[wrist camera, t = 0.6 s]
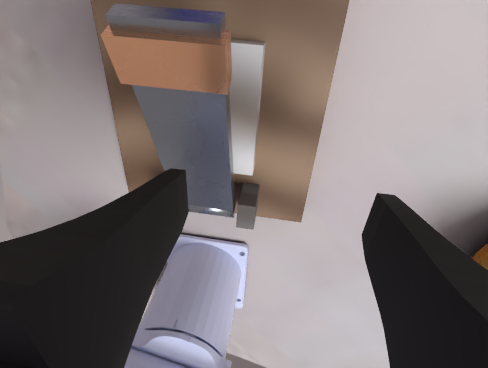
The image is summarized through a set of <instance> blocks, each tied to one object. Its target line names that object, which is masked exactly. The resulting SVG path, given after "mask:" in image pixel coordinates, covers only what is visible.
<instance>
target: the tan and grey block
mask: <svg viewBox="0 0 488 368" xmlns="http://www.w3.org/2000/svg"><path fill="white" fill-rule="evenodd" d="M105 16H106V18H107V21H108V23H109V25H108V26H107V28H106V29H105V30H104V31H103V32H102V34H101V37H102V40H103V42H104V44H105V47H106V49H107V52H108V54H109V57H110V59H111V61H112V64H113V66H114V69H115V71H116V74H117V76H118V78H119V81H120V83H121V84H129V85H132V87H133V90H134V92H135V95H136V98H137V100H138V103H139V106H140V108H141V111H142V113H143V116H144V119H145V121H146V124H147V127H148V129H149V132H150V135H151V137H152V140H153V143H154V145H155V148H156V150H157V153H158V156H159V158H160V161H161V164H162V166H163V169H164V171H166V170H168V169H170V168H173V169H182V170H186V181H187V195H188V209H189V212H196V213H203V214H210V215H217V216H224V217H232V218H233V217H234V214H235V208H236V201H235V189H234V170H233V151H232V133H231V114H230V95H229V88H230V85H231V82H232V59H231V35H230V30H226V21H225V12H218V11H205V10H192V9H179V8H166V7H153V6H140V5H127V4H114V5H113V6H112V7H111V8H110V10H109V11H108V12H107V13H106V14H105Z"/></svg>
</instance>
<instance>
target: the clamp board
mask: <svg viewBox="0 0 488 368" xmlns="http://www.w3.org/2000/svg"><path fill="white" fill-rule="evenodd" d="M91 4H92V9H93V14H94V19H95V24H96V29H97V34H98V39H99V44H100V49H101V54H102V59H103V64H104V69H105V74H106V79H107V84H108V89H109V94H110V99H111V104H112V109H113V114H114V119H115V124H116V129H117V134H118V140H119V145H120V150H121V155H122V160H123V165H124V170H125V175H126V180H127V185H128V190H129V192H131V191H133V190H134V189H136V188H138V187H139V186H141V185H143V184H145V183H146V182H148V181H150V180H151V179H153V178H154V177H156V176H158V175H159V174H161V173H163V172H164V169H163V166H162V164H161V161H160V158H159V156H158V153H157V150H156V148H155V145H154V143H153V140H152V137H151V135H150V132H149V129H148V127H147V124H146V121H145V119H144V116H143V113H142V111H141V108H140V106H139V103H138V100H137V98H136V95H135V92H134V90H133V87H132V85H129V84H121V83H120V81H119V78H118V76H117V74H116V71H115V69H114V66H113V64H112V61H111V59H110V57H109V54H108V52H107V49H106V47H105V44H104V42H103V40H102V37H101V34H102V32H103V31H104V30H105V29H106V28H107V26H108V25H109V23H108V21H107V18H106V16H105V14H106V13H107V12H108V11H109V10H110V8H111V7H112V6H113V5H114V4H127V5H140V6H153V7H166V8H179V9H192V10H205V11H218V12H225V21H226V30H230V35H231V59H232V82H231V85H230V88H229V95H230V114H231V133H232V151H233V170H234V189H235V201H236V208H235V213H237V223H236V227H239V228H246V229H253V228H254V223H255V217H256V216H260V217H267V218H274V219H281V220H288V221H295V222H301V220H302V215H303V211H304V206H305V201H306V197H307V192H308V188H309V183H310V178H311V174H312V169H313V165H314V160H315V156H316V151H317V146H318V142H319V137H320V133H321V128H322V123H323V119H324V114H325V110H326V105H327V101H328V96H329V91H330V87H331V82H332V78H333V73H334V68H335V64H336V59H337V55H338V50H339V45H340V41H341V36H342V32H343V27H344V23H345V18H346V13H347V9H348V4H349V0H91Z"/></svg>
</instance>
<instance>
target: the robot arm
mask: <svg viewBox="0 0 488 368" xmlns="http://www.w3.org/2000/svg"><path fill="white" fill-rule="evenodd" d="M188 212H189V209H188V195H187V181H186V170H182V169H173V168H170V169H168V170H166V171H164V172H163V173H161V174H159V175H158V176H156V177H154V178H153V179H151V180H150V181H148V182H146V183H145V184H143V185H141V186H139V187H138V188H136V189H134V190H133V191H131V192H129V193H127V194H126V195H124V196H122V197H120V198H118V199H116V200H114V201H113V202H111V203H109V204H107V205H105V206H103V207H101V208H99V209H96V210H94V211H92V212H90V213H87V214H85V215H83V216H80V217H78V218H76V219H73V220H70V221H67V222H65V223H62V224H59V225H56V226H54V227H51V228H48V229H45V230H42V231H39V232H36V233H33V234H29V235H26V236H23V237H19V238H15V239H12V240H8V241H4V242H1V243H0V368H230V367H231V361H229V360H227V359H225V357H226V352H227V347H228V342H229V337H230V331H231V326H232V321H233V316H234V311H235V308H242V307H243V300H244V289H245V278H246V268H247V257H248V246H247V245H246V244H243V243H236V242H229V241H223V240H216V239H209V238H203V237H196V236H189V235H183V234H181V232H182V229H183V227H184V224H185V221H186V218H187V215H188ZM362 241H363V249H364V256H365V261H366V265H367V269H368V272H369V276H370V279H371V283H372V286H373V290H374V293H375V297H376V300H377V304H378V307H379V311H380V314H381V319H382V323H383V327H384V333H385V338H386V344H387V350H388V356H389V363H390V368H488V270H487V269H486V268H484V267H483V266H481V265H480V264H478V263H477V262H476V261H474V260H473V259H471V258H470V257H469V256H467V255H466V254H465V253H463V252H462V251H461V250H460V249H458V248H457V247H456V246H454V245H453V244H452V243H451V242H449V241H448V240H447V239H446V238H444V237H443V236H442V235H441V234H440V233H438V232H437V231H436V230H435V229H434V228H432V227H431V226H430V225H429V224H428V223H427V222H426V221H424V220H423V219H422V218H421V217H420V216H419V215H418V214H416V213H415V212H414V211H413V210H412V209H411V208H410V207H408V206H407V205H406V204H405V203H404V202H403V201H401V200H400V199H399V198H398V197H396V196H395V195H389V194H380V193H377V195H376V197H375V200H374V203H373V206H372V208H371V211H370V214H369V217H368V219H367V222H366V225H365V227H364V230H363V233H362ZM241 252H244V253H241ZM166 262H167V267H166V269H165V271H164V273H163V276H162V278H161V280H160V282H159V284H158V286H157V288H156V290H155V293H154V295H153V297H152V299H151V301H150V303H149V305H148V307H147V310H146V312H145V314H144V316H143V313H144V310H145V308H146V305H147V303H148V300H149V298H150V295H151V292H152V290H153V288H154V286H155V283H156V281H157V279H158V277H159V275H160V273H161V271H162V269H163V267H164V266H165V264H166ZM142 316H143V318H142ZM141 318H142V320H141ZM140 321H141V322H140Z"/></svg>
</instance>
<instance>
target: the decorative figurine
mask: <svg viewBox="0 0 488 368" xmlns="http://www.w3.org/2000/svg"><path fill="white" fill-rule="evenodd" d="M471 259H473V260H474V261H476V262H477V263H478V264H480V265H481V266H483V267H484V268H486V269H487V270H488V244H486V245H484V247H482V248H481V249H480V250H478V251H477V252H476V253H475V255H474V256H473V257H472V258H471Z"/></svg>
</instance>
